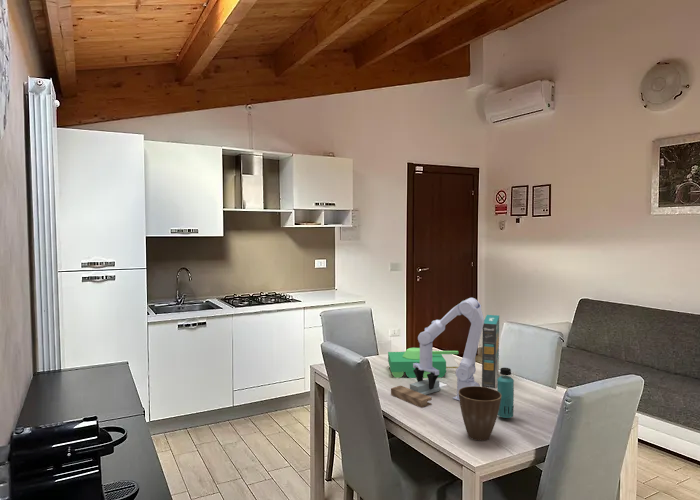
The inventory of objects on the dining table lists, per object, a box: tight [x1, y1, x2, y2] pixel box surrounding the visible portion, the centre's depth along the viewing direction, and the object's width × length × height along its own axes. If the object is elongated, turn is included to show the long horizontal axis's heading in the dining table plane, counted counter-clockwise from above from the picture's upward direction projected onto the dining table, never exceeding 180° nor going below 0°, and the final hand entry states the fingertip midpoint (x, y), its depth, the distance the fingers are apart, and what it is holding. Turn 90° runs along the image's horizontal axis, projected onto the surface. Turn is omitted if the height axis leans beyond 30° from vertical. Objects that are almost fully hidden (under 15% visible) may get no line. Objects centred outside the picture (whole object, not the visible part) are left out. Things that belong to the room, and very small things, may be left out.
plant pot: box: [458, 386, 501, 442], centre depth 178 cm, size 15×15×16 cm
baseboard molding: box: [432, 348, 460, 369], centre depth 275 cm, size 31×3×12 cm
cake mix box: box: [481, 314, 500, 389], centre depth 239 cm, size 22×6×30 cm, turn 160°
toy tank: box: [387, 347, 459, 379], centre depth 253 cm, size 18×12×35 cm
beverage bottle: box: [496, 367, 515, 419], centre depth 194 cm, size 6×7×20 cm
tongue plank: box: [409, 378, 441, 396], centre depth 224 cm, size 14×6×4 cm, turn 128°
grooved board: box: [390, 385, 432, 408], centre depth 215 cm, size 19×6×3 cm, turn 37°
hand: (425, 386), depth 224 cm, fingers open, 6 cm apart
